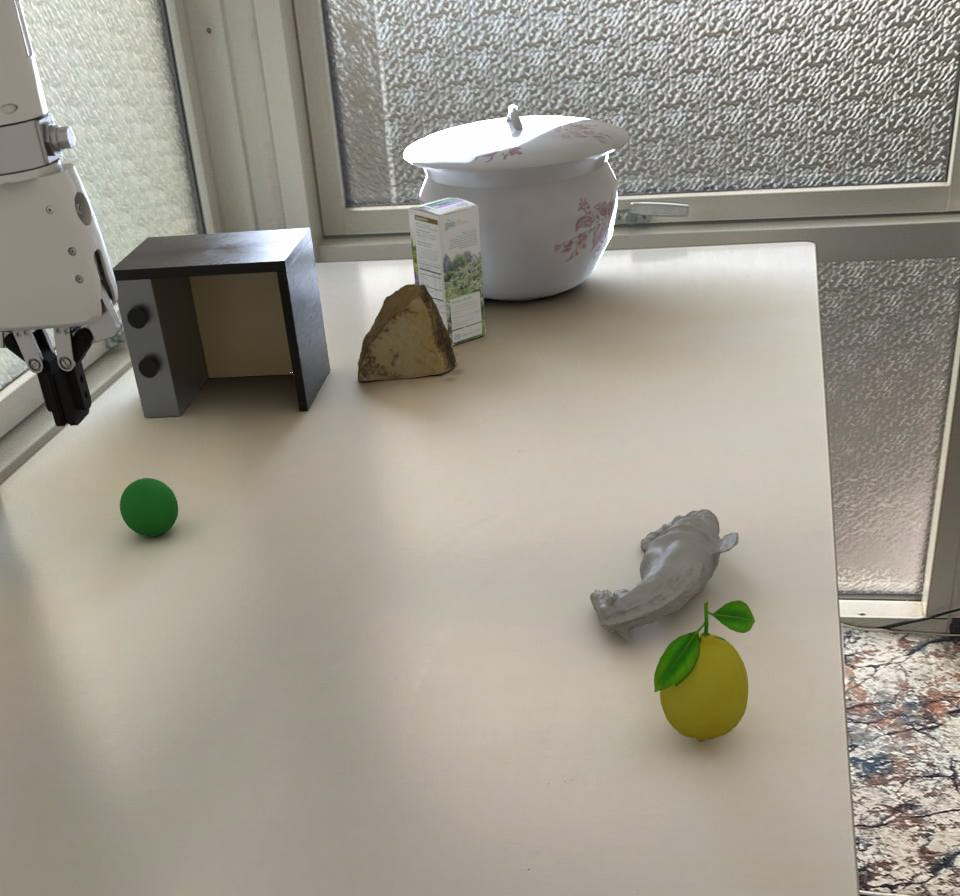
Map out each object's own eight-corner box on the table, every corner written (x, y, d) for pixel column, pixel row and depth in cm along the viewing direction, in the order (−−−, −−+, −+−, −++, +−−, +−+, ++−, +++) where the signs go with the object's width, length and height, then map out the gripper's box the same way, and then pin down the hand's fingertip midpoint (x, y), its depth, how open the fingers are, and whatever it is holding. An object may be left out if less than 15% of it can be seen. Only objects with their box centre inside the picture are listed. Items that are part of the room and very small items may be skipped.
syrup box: (456, 326, 160) (445, 195, 151) (488, 336, 156) (478, 201, 147) (419, 339, 157) (405, 205, 148) (450, 348, 153) (438, 212, 145)
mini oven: (141, 421, 142) (106, 273, 133) (177, 376, 153) (147, 237, 144) (306, 414, 140) (282, 263, 131) (330, 369, 151) (310, 227, 142)
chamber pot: (520, 333, 156) (508, 136, 143) (373, 296, 173) (352, 116, 160) (678, 274, 170) (680, 90, 157) (528, 245, 187) (519, 76, 174)
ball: (120, 547, 117) (106, 493, 114) (136, 522, 121) (123, 469, 118) (174, 545, 116) (162, 491, 113) (190, 521, 120) (178, 467, 117)
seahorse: (591, 522, 111) (572, 603, 94) (725, 471, 107) (730, 546, 90) (613, 578, 113) (598, 667, 96) (745, 530, 110) (754, 614, 92)
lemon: (749, 711, 88) (757, 574, 82) (761, 761, 84) (770, 619, 78) (648, 716, 89) (648, 580, 83) (654, 766, 84) (654, 625, 78)
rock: (334, 370, 143) (417, 361, 139) (338, 290, 143) (421, 279, 139) (382, 402, 153) (461, 395, 149) (386, 327, 153) (465, 318, 149)
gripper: (123, 132, 92) (181, 397, 103) (-80, 148, 94) (-1, 407, 105) (87, 154, 86) (153, 433, 97) (-129, 171, 88) (-40, 442, 99)
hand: (73, 419), depth 101 cm, fingers closed
